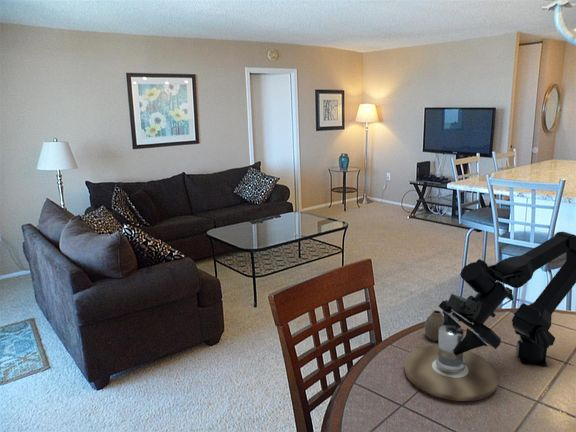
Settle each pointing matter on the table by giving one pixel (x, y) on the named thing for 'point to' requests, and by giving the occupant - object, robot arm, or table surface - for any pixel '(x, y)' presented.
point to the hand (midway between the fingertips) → (446, 347)
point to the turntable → (451, 376)
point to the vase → (434, 325)
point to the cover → (450, 349)
